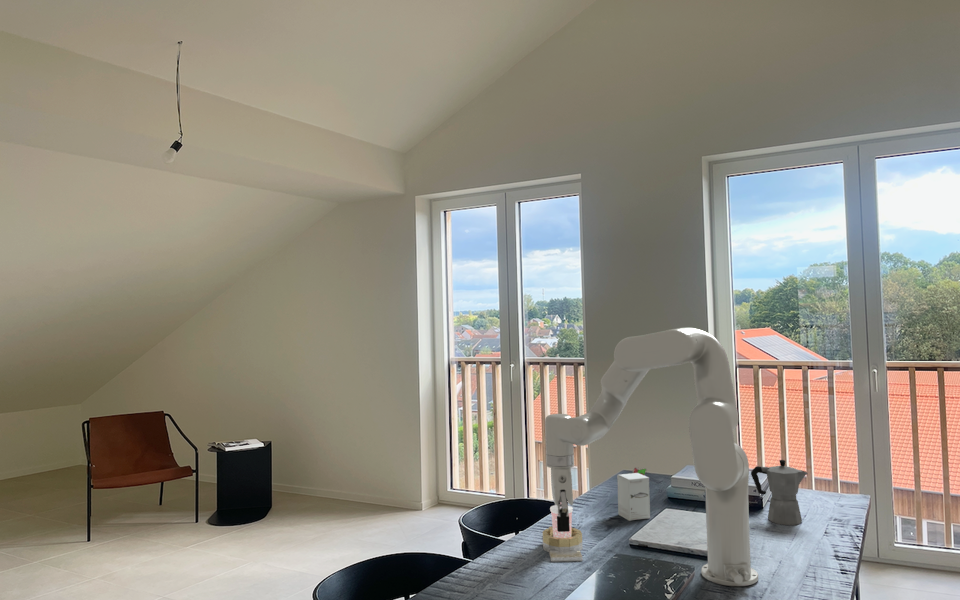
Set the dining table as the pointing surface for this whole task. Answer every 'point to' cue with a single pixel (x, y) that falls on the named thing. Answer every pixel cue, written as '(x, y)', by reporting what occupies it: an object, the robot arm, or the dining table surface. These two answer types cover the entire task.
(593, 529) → the dining table surface
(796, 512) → the coffeepot
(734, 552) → the robot arm
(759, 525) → the dining table surface
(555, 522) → the beverage cup
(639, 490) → the supplement box
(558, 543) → the yellow faceted ring
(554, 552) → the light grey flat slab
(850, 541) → the dining table surface
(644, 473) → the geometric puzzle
